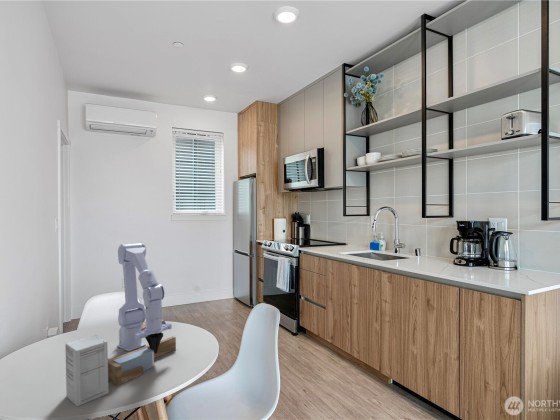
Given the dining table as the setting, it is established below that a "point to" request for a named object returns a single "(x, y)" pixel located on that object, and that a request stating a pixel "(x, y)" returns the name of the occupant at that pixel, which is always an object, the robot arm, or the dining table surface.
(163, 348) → the brown wooden rack
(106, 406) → the dining table surface
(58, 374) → the dining table surface
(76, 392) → the supplement box
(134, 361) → the boxed book
